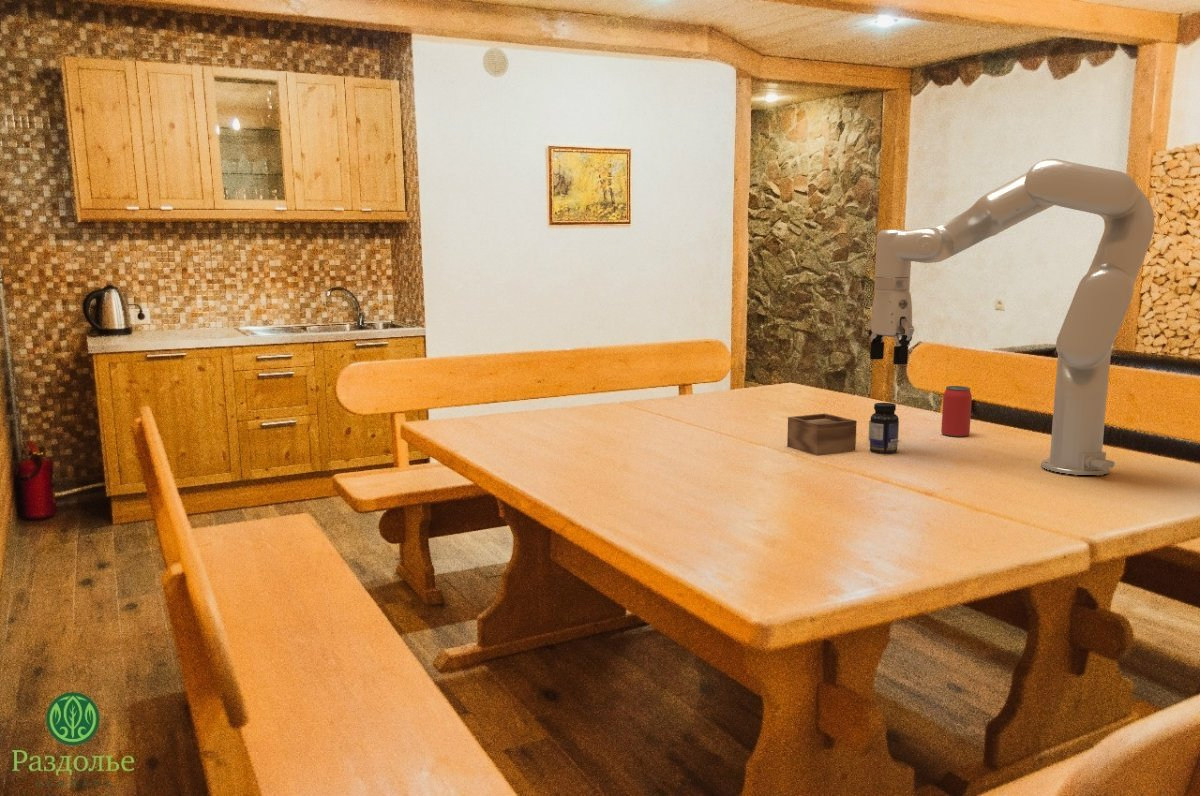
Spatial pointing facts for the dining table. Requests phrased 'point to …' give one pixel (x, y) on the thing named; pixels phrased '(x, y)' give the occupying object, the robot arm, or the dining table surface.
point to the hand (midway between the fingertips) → (888, 361)
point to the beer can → (956, 411)
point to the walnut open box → (821, 434)
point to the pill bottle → (884, 429)
